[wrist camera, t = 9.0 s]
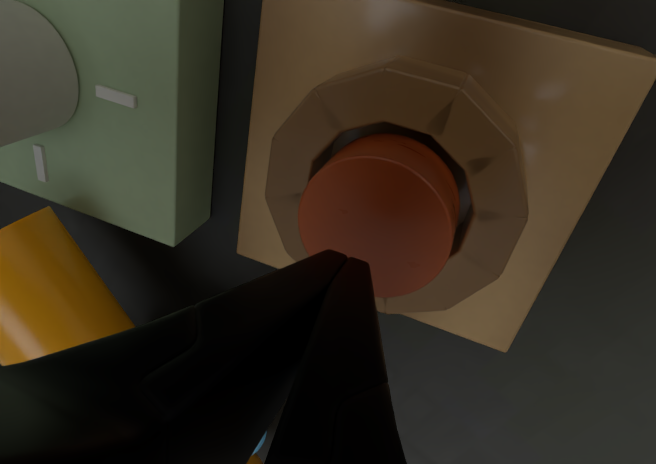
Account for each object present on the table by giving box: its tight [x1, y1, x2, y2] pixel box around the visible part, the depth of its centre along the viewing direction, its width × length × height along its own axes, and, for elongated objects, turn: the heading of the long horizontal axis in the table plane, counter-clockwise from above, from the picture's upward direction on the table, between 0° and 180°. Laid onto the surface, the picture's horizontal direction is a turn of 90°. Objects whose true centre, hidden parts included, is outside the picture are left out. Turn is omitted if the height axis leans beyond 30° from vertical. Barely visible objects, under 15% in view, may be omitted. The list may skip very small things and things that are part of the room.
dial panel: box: [0, 0, 224, 247], centre depth 16 cm, size 11×10×3 cm
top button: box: [298, 133, 460, 298], centre depth 11 cm, size 4×4×2 cm
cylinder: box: [0, 206, 267, 464], centre depth 18 cm, size 12×10×15 cm
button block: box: [237, 0, 656, 352], centre depth 14 cm, size 10×9×4 cm
